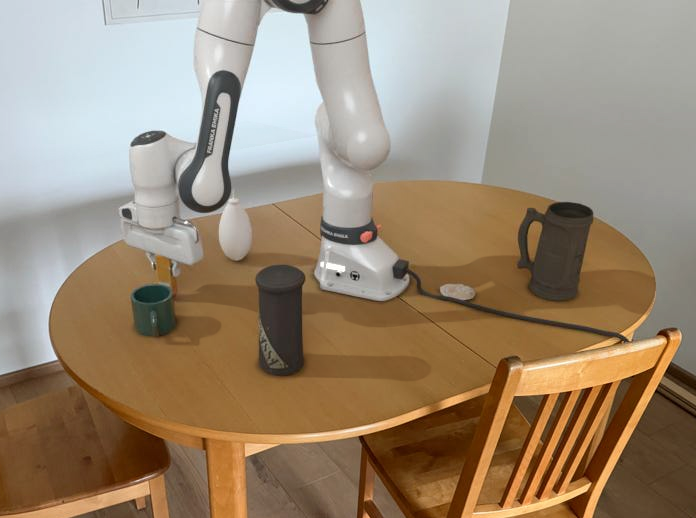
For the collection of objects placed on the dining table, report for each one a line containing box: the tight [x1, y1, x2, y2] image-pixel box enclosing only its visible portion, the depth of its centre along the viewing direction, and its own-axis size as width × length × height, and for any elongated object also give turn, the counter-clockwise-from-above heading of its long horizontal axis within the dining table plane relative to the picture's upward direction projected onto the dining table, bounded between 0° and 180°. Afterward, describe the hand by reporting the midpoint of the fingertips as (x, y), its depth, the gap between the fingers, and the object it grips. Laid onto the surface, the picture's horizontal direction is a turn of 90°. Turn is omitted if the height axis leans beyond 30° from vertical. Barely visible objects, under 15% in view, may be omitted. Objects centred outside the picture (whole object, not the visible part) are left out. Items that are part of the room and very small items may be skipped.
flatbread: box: [439, 283, 476, 301], centre depth 161 cm, size 8×8×1 cm
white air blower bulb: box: [218, 188, 253, 262], centre depth 170 cm, size 8×8×18 cm
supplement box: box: [155, 254, 178, 296], centre depth 155 cm, size 3×4×10 cm
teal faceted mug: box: [130, 283, 177, 339], centre depth 146 cm, size 12×8×8 cm
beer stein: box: [516, 201, 594, 302], centre depth 159 cm, size 15×11×20 cm
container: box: [254, 264, 306, 377], centre depth 132 cm, size 9×9×20 cm
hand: (166, 272), depth 155 cm, fingers closed on supplement box, 4 cm apart
